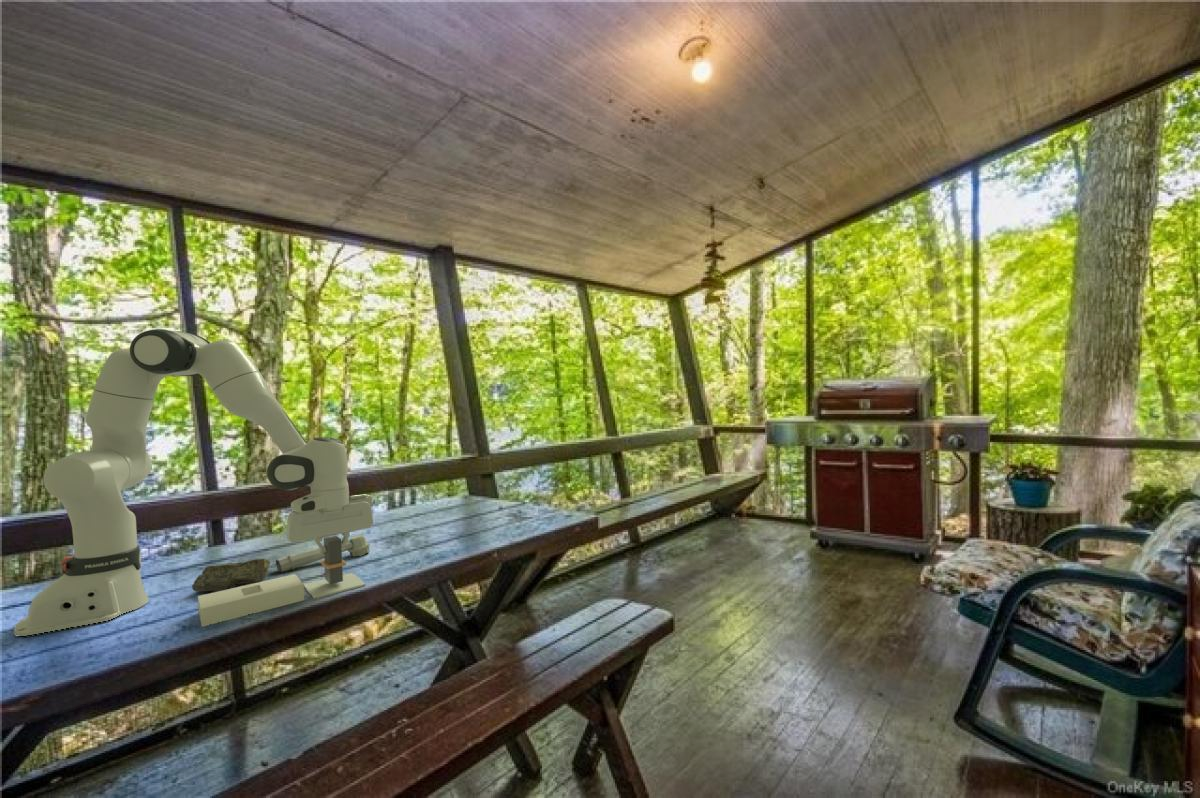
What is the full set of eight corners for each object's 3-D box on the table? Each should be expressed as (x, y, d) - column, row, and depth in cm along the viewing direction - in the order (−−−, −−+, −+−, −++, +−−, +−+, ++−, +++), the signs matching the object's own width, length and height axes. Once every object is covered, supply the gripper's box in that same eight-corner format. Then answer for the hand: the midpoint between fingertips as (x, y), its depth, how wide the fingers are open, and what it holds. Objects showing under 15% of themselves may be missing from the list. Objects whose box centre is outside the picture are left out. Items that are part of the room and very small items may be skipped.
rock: (268, 556, 149) (271, 555, 141) (268, 581, 147) (272, 581, 140) (192, 568, 138) (191, 568, 131) (192, 595, 137) (192, 596, 129)
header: (201, 626, 114) (200, 608, 114) (198, 613, 121) (197, 596, 121) (304, 600, 127) (303, 584, 127) (295, 589, 135) (295, 574, 134)
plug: (328, 585, 132) (326, 542, 132) (321, 579, 137) (320, 538, 137) (346, 581, 135) (344, 539, 135) (339, 575, 140) (338, 534, 140)
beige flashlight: (274, 557, 150) (364, 528, 166) (279, 579, 151) (368, 548, 167) (277, 561, 146) (369, 531, 162) (282, 584, 147) (373, 552, 163)
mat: (314, 599, 128) (314, 597, 128) (303, 586, 137) (303, 584, 137) (365, 585, 135) (365, 583, 135) (352, 574, 144) (352, 572, 144)
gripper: (368, 491, 145) (370, 540, 145) (283, 503, 131) (286, 557, 132) (375, 494, 140) (377, 545, 140) (288, 507, 127) (291, 563, 127)
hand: (332, 551), depth 136 cm, fingers closed on plug, 3 cm apart
